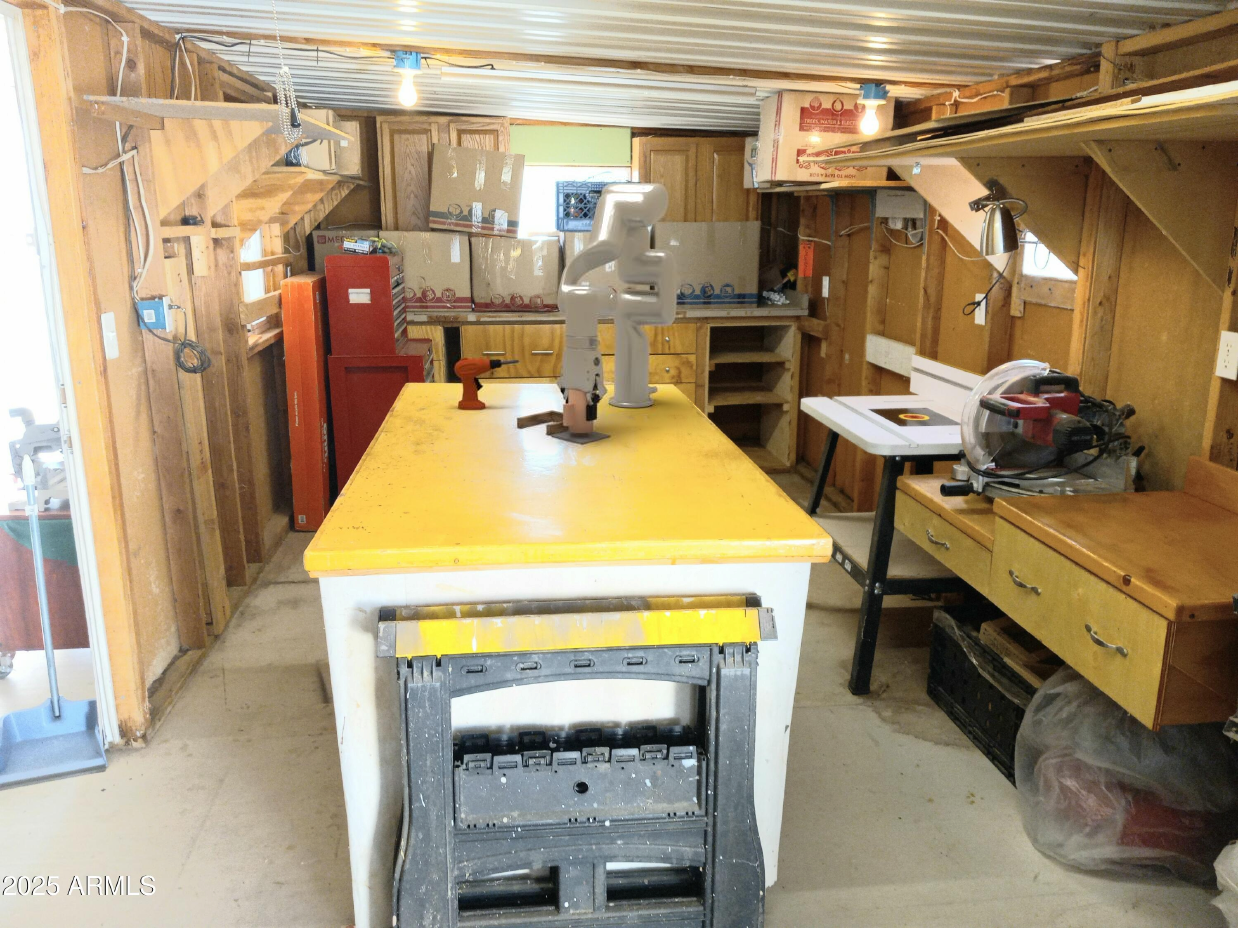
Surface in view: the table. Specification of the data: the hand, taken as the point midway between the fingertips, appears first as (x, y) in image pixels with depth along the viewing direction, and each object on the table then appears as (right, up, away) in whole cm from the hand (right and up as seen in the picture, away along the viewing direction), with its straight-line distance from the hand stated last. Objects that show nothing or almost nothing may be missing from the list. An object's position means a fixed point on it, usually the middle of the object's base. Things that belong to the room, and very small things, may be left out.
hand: (581, 417), depth 219 cm
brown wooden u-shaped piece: (-8, -2, +10) cm, 13 cm away
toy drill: (-27, +4, +31) cm, 41 cm away
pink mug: (-1, -3, 0) cm, 3 cm away
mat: (0, -5, +1) cm, 5 cm away
